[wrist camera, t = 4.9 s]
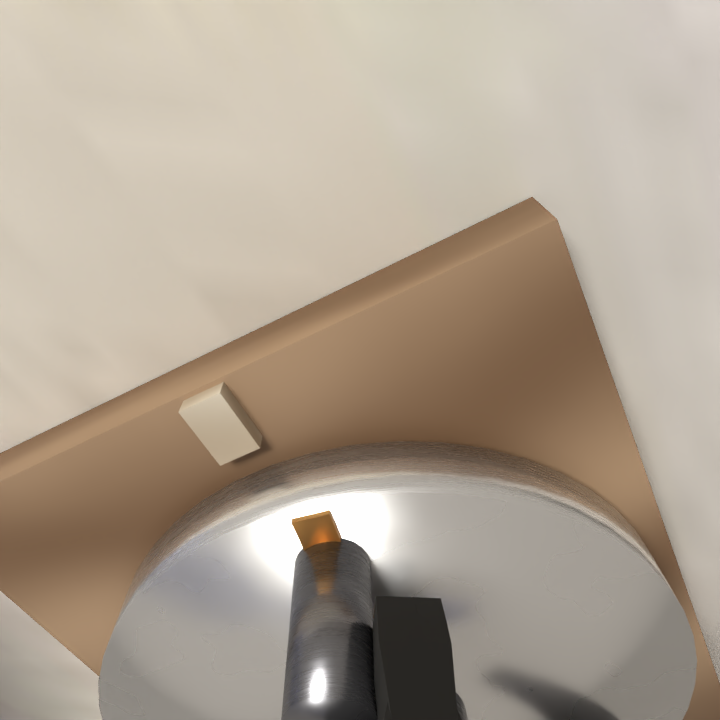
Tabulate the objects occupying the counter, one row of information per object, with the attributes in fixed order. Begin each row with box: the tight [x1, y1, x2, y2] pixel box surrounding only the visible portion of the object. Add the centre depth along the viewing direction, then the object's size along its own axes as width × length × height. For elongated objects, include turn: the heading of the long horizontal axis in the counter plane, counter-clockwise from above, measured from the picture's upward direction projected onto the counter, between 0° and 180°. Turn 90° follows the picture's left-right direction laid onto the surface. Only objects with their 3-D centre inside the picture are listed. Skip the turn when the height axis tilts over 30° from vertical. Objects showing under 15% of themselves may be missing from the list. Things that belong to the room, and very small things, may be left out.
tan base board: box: [0, 197, 720, 720], centre depth 16 cm, size 17×14×2 cm
